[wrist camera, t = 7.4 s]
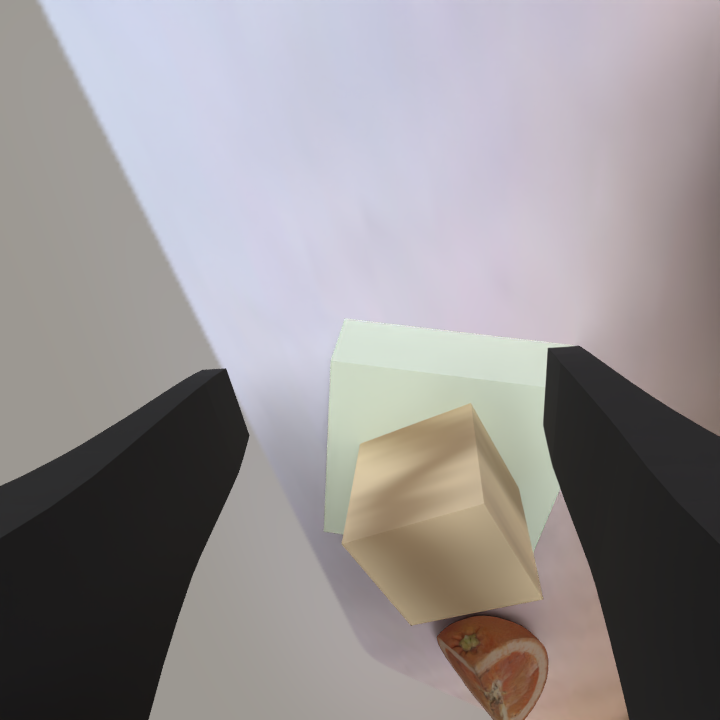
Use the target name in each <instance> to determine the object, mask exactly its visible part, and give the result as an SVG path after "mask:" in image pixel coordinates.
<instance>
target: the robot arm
mask: <svg viewBox="0 0 720 720" xmlns="http://www.w3.org/2000/svg"><path fill="white" fill-rule="evenodd" d="M543 428H544V432H545V437H546V441H547V446H548V450H549V455H550V459H551V463H552V467H553V470H554V472H555V475H556V478H557V481H558V483H559V486H560V489H561V491H562V494H563V497H564V500H565V502H566V505H567V507H568V510H569V513H570V515H571V518H572V521H573V523H574V526H575V529H576V531H577V534H578V537H579V539H580V542H581V545H582V547H583V550H584V553H585V555H586V558H587V561H588V563H589V566H590V569H591V573H592V576H593V579H594V582H595V585H596V588H597V592H598V596H599V600H600V604H601V607H602V611H603V615H604V619H605V623H606V626H607V630H608V634H609V638H610V642H611V646H612V650H613V654H614V658H615V662H616V666H617V670H618V674H619V678H620V682H621V686H622V690H623V694H624V699H625V703H626V707H627V712H628V716H629V720H720V437H719V436H717V435H716V434H714V433H712V432H710V431H708V430H706V429H705V428H703V427H701V426H700V425H698V424H696V423H694V422H693V421H691V420H689V419H688V418H686V417H684V416H683V415H681V414H679V413H678V412H676V411H674V410H673V409H671V408H669V407H668V406H666V405H665V404H663V403H662V402H660V401H658V400H657V399H655V398H654V397H652V396H651V395H649V394H648V393H646V392H645V391H643V390H642V389H640V388H639V387H637V386H636V385H634V384H633V383H631V382H630V381H629V380H627V379H626V378H624V377H623V376H621V375H620V374H619V373H617V372H616V371H614V370H613V369H612V368H610V367H609V366H607V365H606V364H605V363H603V362H602V361H600V360H599V359H598V358H596V357H595V356H594V355H592V354H591V353H589V352H588V351H586V350H585V349H583V348H582V347H580V346H569V347H554V348H548V352H547V368H546V384H545V400H544V416H543ZM248 439H249V433H248V430H247V427H246V425H245V422H244V419H243V416H242V413H241V410H240V407H239V404H238V401H237V399H236V396H235V393H234V390H233V387H232V384H231V381H230V378H229V376H228V373H227V370H226V369H212V370H201V371H200V372H197V373H195V374H193V375H192V376H190V377H188V378H186V379H185V380H183V381H181V382H180V383H178V384H177V385H175V386H174V387H172V388H170V389H169V390H167V391H166V392H164V393H163V394H161V395H160V396H158V397H156V398H155V399H153V400H152V401H150V402H149V403H147V404H146V405H144V406H143V407H141V408H140V409H138V410H137V411H135V412H133V413H132V414H130V415H129V416H127V417H126V418H124V419H123V420H121V421H119V422H118V423H116V424H115V425H113V426H111V427H109V428H108V429H106V430H105V431H103V432H101V433H100V434H98V435H97V436H95V437H93V438H92V439H90V440H88V441H87V442H85V443H83V444H82V445H80V446H78V447H76V448H75V449H73V450H71V451H69V452H68V453H66V454H64V455H62V456H60V457H58V458H57V459H55V460H53V461H51V462H49V463H47V464H45V465H43V466H41V467H39V468H37V469H35V470H33V471H31V472H29V473H27V474H25V475H23V476H21V477H19V478H17V479H15V480H13V481H11V482H8V483H6V484H4V485H2V486H0V720H148V719H149V715H150V712H151V708H152V705H153V701H154V697H155V694H156V690H157V686H158V682H159V679H160V675H161V672H162V668H163V665H164V661H165V658H166V655H167V652H168V648H169V645H170V642H171V639H172V635H173V632H174V629H175V625H176V622H177V619H178V616H179V613H180V610H181V607H182V604H183V602H184V599H185V596H186V593H187V590H188V587H189V584H190V581H191V578H192V575H193V573H194V571H195V568H196V566H197V563H198V561H199V558H200V556H201V554H202V552H203V550H204V547H205V545H206V543H207V541H208V538H209V536H210V535H211V532H212V530H213V528H214V526H215V524H216V521H217V519H218V517H219V515H220V513H221V511H222V508H223V506H224V504H225V502H226V500H227V498H228V495H229V493H230V491H231V489H232V487H233V484H234V482H235V480H236V478H237V475H238V473H239V470H240V467H241V463H242V460H243V457H244V453H245V450H246V446H247V442H248Z"/></svg>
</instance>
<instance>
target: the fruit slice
mask: <svg viewBox="0 0 720 720" xmlns="http://www.w3.org/2000/svg"><path fill="white" fill-rule="evenodd" d="M437 641H438V644H439V646H440V648H441V650H442V651H443V653H444V655H445V656H446V658H447V660H448V661H449V662H450V664H451V665H452V667H453V668H454V669H455V671H456V672H457V673H458V675H459V676H460V677H461V679H462V680H463V682H464V684H465V685H466V686H467V688H468V689H469V690H470V691H471V693H472V694H473V695H474V697H475V698H476V699H477V700H478V701H479V703H480V704H481V705H482V706H483V707H484V709H485V710H486V711H487V712H488V714H489V715H490V716H491V717H492V719H493V720H525V718H526V717H527V716H528V714H529V713H530V712H531V710H532V709H533V707H534V706H535V704H536V702H537V701H538V699H539V697H540V695H541V693H542V691H543V688H544V686H545V683H546V679H547V674H548V656H547V652H546V649H545V647H544V645H543V644H542V643H541V642H540V641H539V640H538V639H537V638H536V637H535V636H534V635H533V634H532V633H531V632H529V631H528V630H527V629H526V628H524V627H523V626H521V625H518V624H516V623H514V622H511V621H508V620H505V619H502V618H497V617H492V616H475V617H470V618H467V619H463V620H460V621H457V622H455V623H453V624H451V625H449V626H448V627H446V628H445V629H444V630H443V631H441V632H440V634H439V635H438V636H437Z"/></svg>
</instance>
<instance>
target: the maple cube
mask: <svg viewBox="0 0 720 720" xmlns="http://www.w3.org/2000/svg"><path fill="white" fill-rule="evenodd" d="M342 545H343V546H344V547H345V549H346V550H347V551H348V552H349V553H350V555H351V556H352V557H353V558H354V559H355V560H356V562H357V563H358V564H359V565H360V566H361V567H362V569H363V570H364V571H365V572H366V573H367V575H368V576H369V577H370V578H371V579H372V580H373V582H374V583H375V584H376V585H377V586H378V587H379V589H380V590H381V591H382V592H383V593H384V595H385V596H386V597H387V598H388V599H389V600H390V602H391V603H392V604H393V605H394V606H395V607H396V609H397V610H398V611H399V612H400V613H401V615H402V616H403V617H404V618H405V619H406V620H407V622H408V623H409V624H410V625H411V626H412V625H417V624H422V623H427V622H432V621H437V620H442V619H447V618H452V617H457V616H462V615H467V614H472V613H477V612H482V611H487V610H492V609H497V608H502V607H507V606H512V605H517V604H522V603H527V602H532V601H537V600H542V599H543V596H542V591H541V587H540V582H539V577H538V573H537V568H536V564H535V559H534V555H533V550H532V546H531V541H530V537H529V532H528V527H527V523H526V518H525V514H524V509H523V505H522V500H521V496H520V491H519V488H518V486H517V484H516V482H515V480H514V479H513V477H512V475H511V473H510V472H509V470H508V468H507V466H506V464H505V463H504V461H503V459H502V457H501V456H500V454H499V452H498V450H497V448H496V447H495V445H494V443H493V441H492V440H491V438H490V436H489V434H488V432H487V431H486V429H485V427H484V425H483V424H482V422H481V420H480V418H479V417H478V415H477V413H476V411H475V409H474V408H473V406H472V404H471V403H469V404H467V405H464V406H461V407H458V408H456V409H453V410H450V411H448V412H445V413H442V414H439V415H437V416H434V417H431V418H429V419H426V420H423V421H420V422H418V423H415V424H412V425H410V426H407V427H404V428H401V429H399V430H396V431H393V432H391V433H388V434H385V435H382V436H380V437H377V438H374V439H372V440H369V441H366V442H363V443H361V444H360V446H359V452H358V457H357V463H356V468H355V474H354V479H353V485H352V490H351V496H350V501H349V507H348V512H347V517H346V523H345V528H344V534H343V539H342Z"/></svg>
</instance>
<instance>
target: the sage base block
mask: <svg viewBox="0 0 720 720" xmlns="http://www.w3.org/2000/svg"><path fill="white" fill-rule="evenodd" d="M569 346H574V345H567V344H559V343H550V342H541V341H533V340H524V339H516V338H507V337H499V336H490V335H482V334H473V333H464V332H456V331H447V330H439V329H430V328H422V327H413V326H405V325H396V324H387V323H379V322H370V321H362V320H353V319H344V322H343V325H342V328H341V331H340V334H339V337H338V340H337V343H336V346H335V349H334V352H333V355H332V358H331V365H330V390H329V414H328V439H327V463H326V488H325V513H324V532H329V533H336V534H344V528H345V523H346V517H347V512H348V507H349V501H350V496H351V490H352V485H353V479H354V474H355V468H356V463H357V457H358V452H359V446H360V444H361V443H363V442H366V441H369V440H372V439H374V438H377V437H380V436H382V435H385V434H388V433H391V432H393V431H396V430H399V429H401V428H404V427H407V426H410V425H412V424H415V423H418V422H420V421H423V420H426V419H429V418H431V417H434V416H437V415H439V414H442V413H445V412H448V411H450V410H453V409H456V408H458V407H461V406H464V405H467V404H469V403H471V404H472V406H473V408H474V409H475V411H476V413H477V415H478V417H479V418H480V420H481V422H482V424H483V425H484V427H485V429H486V431H487V432H488V434H489V436H490V438H491V440H492V441H493V443H494V445H495V447H496V448H497V450H498V452H499V454H500V456H501V457H502V459H503V461H504V463H505V464H506V466H507V468H508V470H509V472H510V473H511V475H512V477H513V479H514V480H515V482H516V484H517V486H518V488H519V491H520V496H521V500H522V505H523V509H524V514H525V518H526V523H527V527H528V532H529V537H530V541H531V546H532V550H533V552H534V550H535V547H536V545H537V542H538V540H539V538H540V535H541V533H542V531H543V528H544V526H545V523H546V521H547V519H548V516H549V514H550V512H551V509H552V507H553V504H554V502H555V500H556V497H557V495H558V493H559V490H560V486H559V483H558V481H557V478H556V475H555V472H554V470H553V467H552V463H551V459H550V455H549V450H548V446H547V441H546V437H545V432H544V428H543V416H544V400H545V384H546V368H547V352H548V348H554V347H569Z"/></svg>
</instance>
